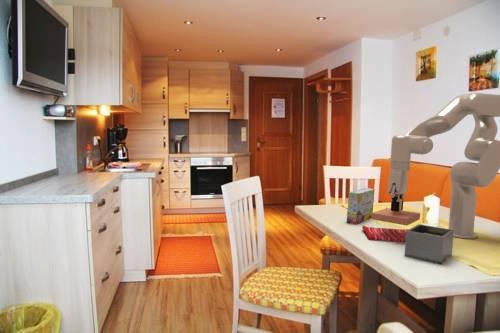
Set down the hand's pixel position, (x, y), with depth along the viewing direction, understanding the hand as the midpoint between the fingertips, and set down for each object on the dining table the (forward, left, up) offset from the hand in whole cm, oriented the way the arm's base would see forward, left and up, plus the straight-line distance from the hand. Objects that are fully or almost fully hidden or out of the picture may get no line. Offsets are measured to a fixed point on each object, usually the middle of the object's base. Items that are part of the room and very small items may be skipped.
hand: (396, 210), depth 158 cm
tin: (+15, +17, -12) cm, 25 cm away
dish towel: (-1, -1, -12) cm, 12 cm away
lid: (0, 0, -4) cm, 4 cm away
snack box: (-19, -24, -12) cm, 33 cm away
